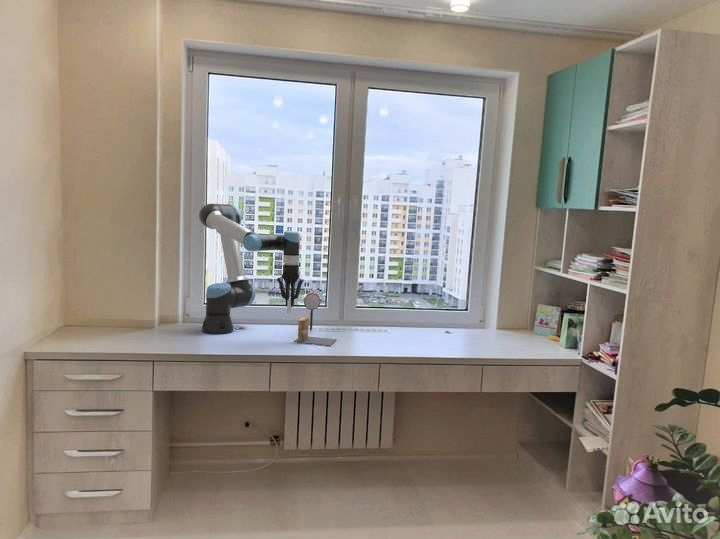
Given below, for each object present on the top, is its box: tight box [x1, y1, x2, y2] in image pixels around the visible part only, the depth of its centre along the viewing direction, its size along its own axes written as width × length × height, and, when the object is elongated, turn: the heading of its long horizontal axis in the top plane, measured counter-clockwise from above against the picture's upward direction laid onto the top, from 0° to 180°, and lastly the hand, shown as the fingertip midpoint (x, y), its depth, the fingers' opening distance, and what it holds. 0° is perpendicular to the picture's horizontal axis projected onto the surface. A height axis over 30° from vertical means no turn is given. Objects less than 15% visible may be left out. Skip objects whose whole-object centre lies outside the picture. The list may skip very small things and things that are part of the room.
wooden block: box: [297, 317, 310, 342], centre depth 249 cm, size 3×7×10 cm, turn 169°
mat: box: [293, 335, 338, 347], centre depth 249 cm, size 18×12×1 cm, turn 79°
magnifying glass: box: [303, 292, 322, 332], centre depth 268 cm, size 9×2×20 cm, turn 99°
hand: (289, 313), depth 249 cm, fingers closed
